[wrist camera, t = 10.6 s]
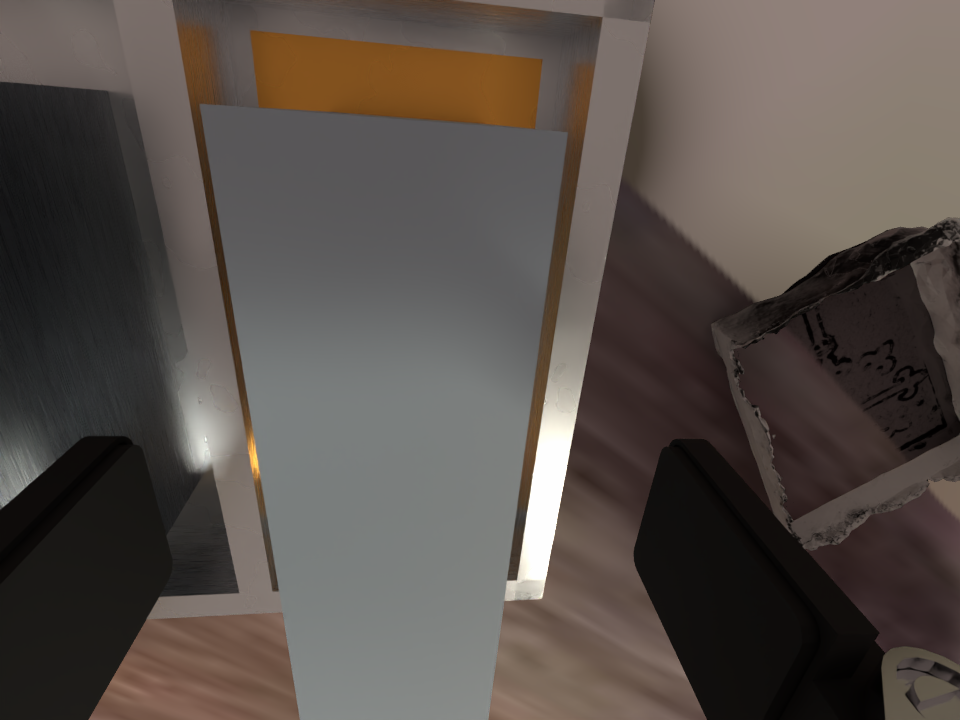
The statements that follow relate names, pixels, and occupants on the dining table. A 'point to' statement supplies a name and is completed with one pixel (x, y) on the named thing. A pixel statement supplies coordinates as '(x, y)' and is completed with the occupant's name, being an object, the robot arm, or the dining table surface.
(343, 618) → the grey block
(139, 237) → the grey open box
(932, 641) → the dining table surface
